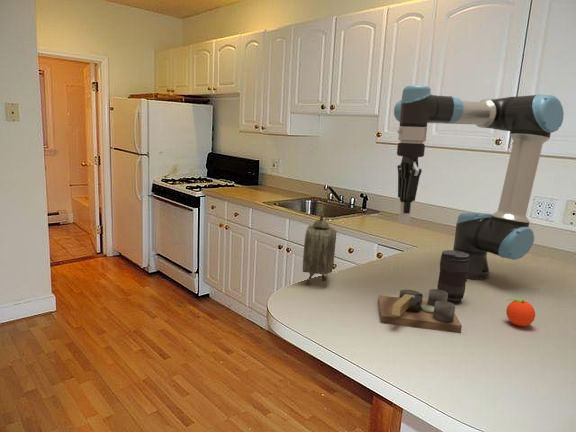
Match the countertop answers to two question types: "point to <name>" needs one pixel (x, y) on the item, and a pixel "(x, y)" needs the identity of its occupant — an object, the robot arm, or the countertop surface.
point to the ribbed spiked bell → (319, 248)
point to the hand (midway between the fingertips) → (403, 223)
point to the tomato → (520, 312)
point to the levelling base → (423, 313)
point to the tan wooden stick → (408, 302)
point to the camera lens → (453, 274)
